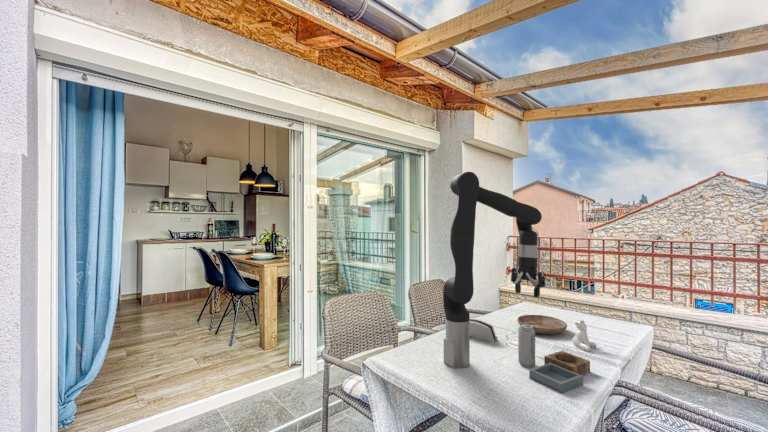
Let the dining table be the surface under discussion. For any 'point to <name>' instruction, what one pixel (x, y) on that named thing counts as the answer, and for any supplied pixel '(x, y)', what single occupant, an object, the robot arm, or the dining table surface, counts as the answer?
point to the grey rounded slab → (482, 330)
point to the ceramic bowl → (543, 323)
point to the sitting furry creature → (582, 337)
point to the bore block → (568, 362)
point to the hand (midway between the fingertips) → (527, 295)
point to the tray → (556, 377)
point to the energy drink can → (526, 345)
